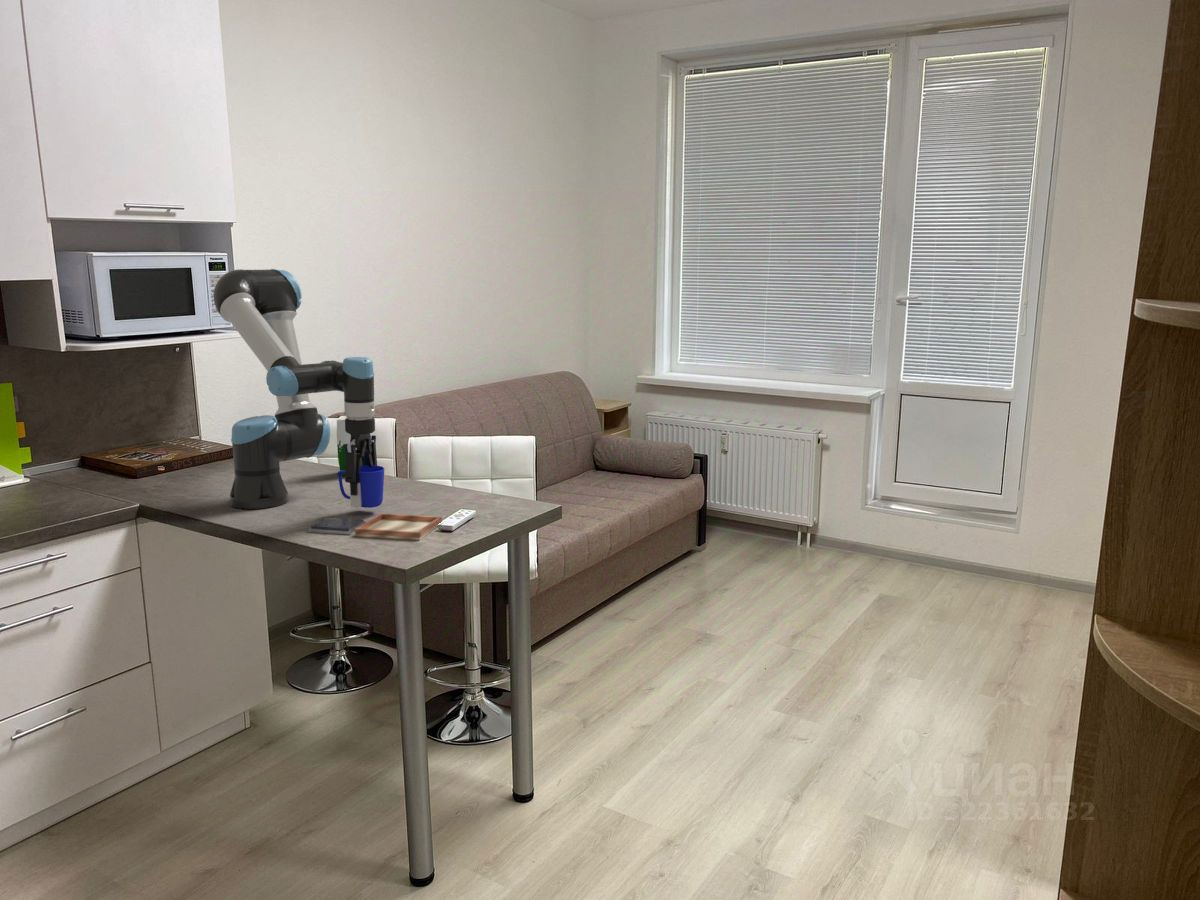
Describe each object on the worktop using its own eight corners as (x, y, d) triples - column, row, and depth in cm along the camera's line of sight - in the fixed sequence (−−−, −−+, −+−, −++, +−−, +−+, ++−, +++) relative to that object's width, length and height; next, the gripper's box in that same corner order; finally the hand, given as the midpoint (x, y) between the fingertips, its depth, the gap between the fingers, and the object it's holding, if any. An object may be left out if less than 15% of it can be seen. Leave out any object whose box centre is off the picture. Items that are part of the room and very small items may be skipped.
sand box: (355, 536, 220) (354, 528, 220) (380, 520, 234) (380, 513, 234) (420, 540, 217) (419, 532, 217) (442, 523, 231) (441, 516, 231)
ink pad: (308, 532, 223) (308, 526, 223) (326, 522, 232) (325, 516, 232) (350, 534, 221) (349, 529, 221) (366, 524, 230) (366, 519, 230)
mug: (344, 500, 245) (343, 464, 243) (388, 501, 245) (387, 465, 243) (334, 508, 237) (333, 471, 235) (380, 510, 237) (379, 472, 235)
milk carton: (366, 476, 283) (363, 412, 279) (336, 476, 282) (333, 413, 278) (370, 470, 292) (367, 408, 288) (341, 470, 291) (338, 408, 287)
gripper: (356, 425, 226) (359, 514, 231) (389, 411, 245) (391, 494, 250) (328, 423, 227) (331, 511, 232) (363, 410, 246) (365, 492, 251)
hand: (362, 502), depth 241 cm, fingers closed on mug, 7 cm apart
